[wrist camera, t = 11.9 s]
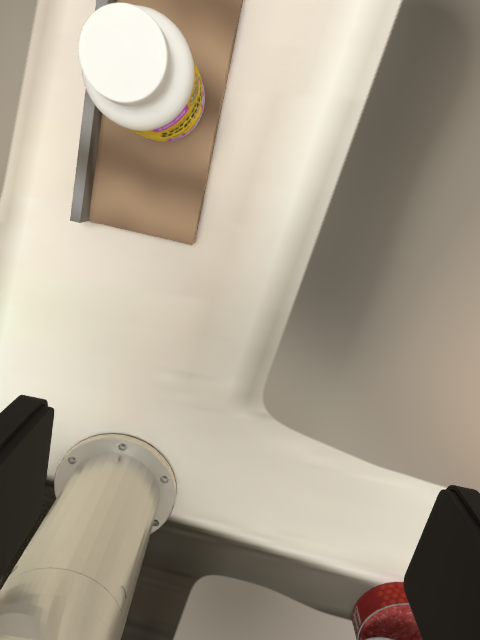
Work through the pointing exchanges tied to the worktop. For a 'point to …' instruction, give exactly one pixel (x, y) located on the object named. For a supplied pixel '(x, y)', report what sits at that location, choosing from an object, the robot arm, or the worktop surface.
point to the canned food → (385, 614)
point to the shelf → (151, 156)
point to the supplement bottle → (141, 71)
